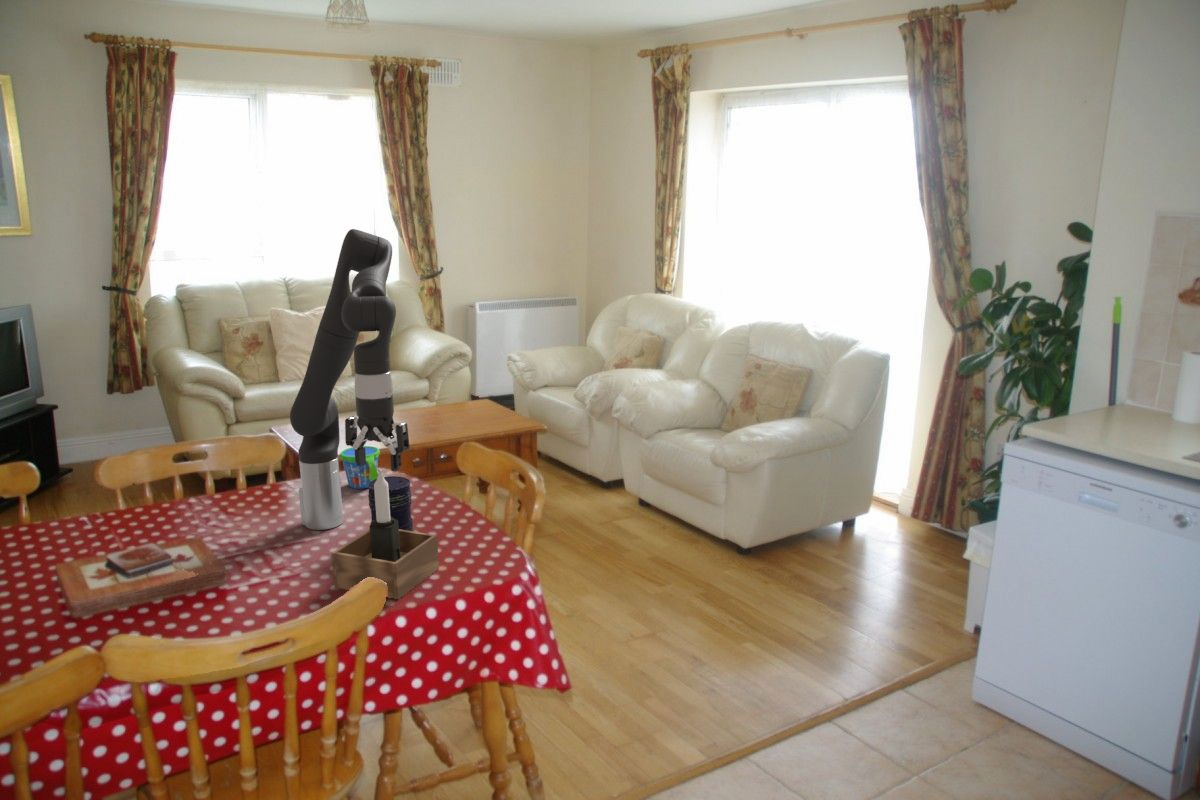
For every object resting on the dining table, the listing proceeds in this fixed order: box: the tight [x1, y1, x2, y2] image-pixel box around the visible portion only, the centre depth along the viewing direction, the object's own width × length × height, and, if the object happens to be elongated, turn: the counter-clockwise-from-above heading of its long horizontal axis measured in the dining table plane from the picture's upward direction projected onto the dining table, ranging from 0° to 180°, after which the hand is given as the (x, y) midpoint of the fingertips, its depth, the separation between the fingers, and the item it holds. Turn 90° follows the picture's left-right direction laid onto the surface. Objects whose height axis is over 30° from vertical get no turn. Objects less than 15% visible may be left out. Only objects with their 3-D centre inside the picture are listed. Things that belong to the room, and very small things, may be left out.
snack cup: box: [339, 445, 381, 490], centre depth 252 cm, size 16×10×10 cm
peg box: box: [331, 528, 440, 601], centre depth 195 cm, size 16×16×8 cm
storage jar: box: [367, 475, 415, 532], centre depth 213 cm, size 10×10×15 cm
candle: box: [369, 468, 400, 562], centre depth 193 cm, size 5×5×25 cm
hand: (378, 467), depth 189 cm, fingers open, 8 cm apart
